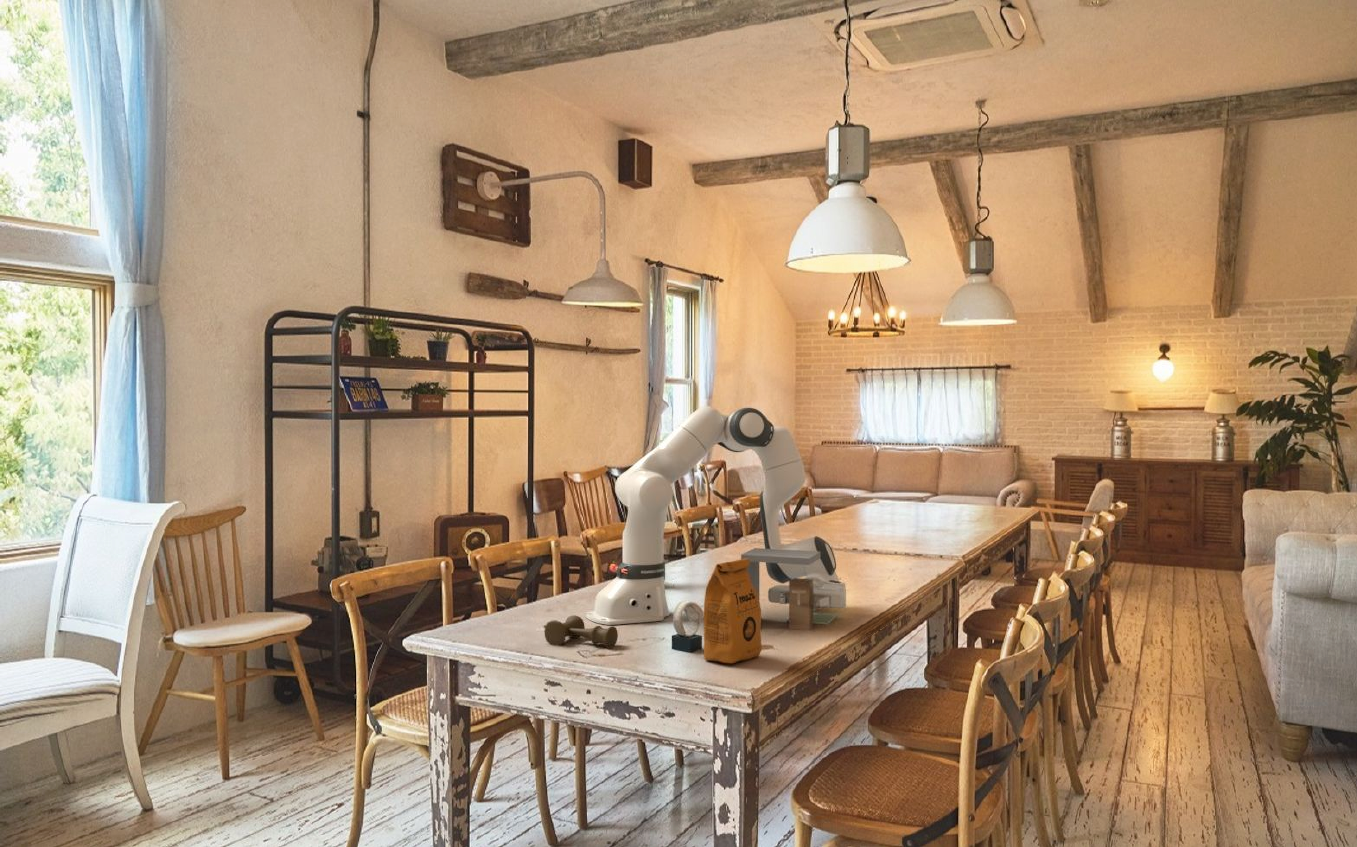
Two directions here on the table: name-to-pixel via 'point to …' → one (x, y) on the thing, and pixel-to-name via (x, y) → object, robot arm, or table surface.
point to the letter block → (801, 604)
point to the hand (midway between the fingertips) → (800, 602)
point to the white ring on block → (689, 639)
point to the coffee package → (731, 615)
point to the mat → (822, 618)
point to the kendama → (579, 632)
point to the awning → (775, 560)
